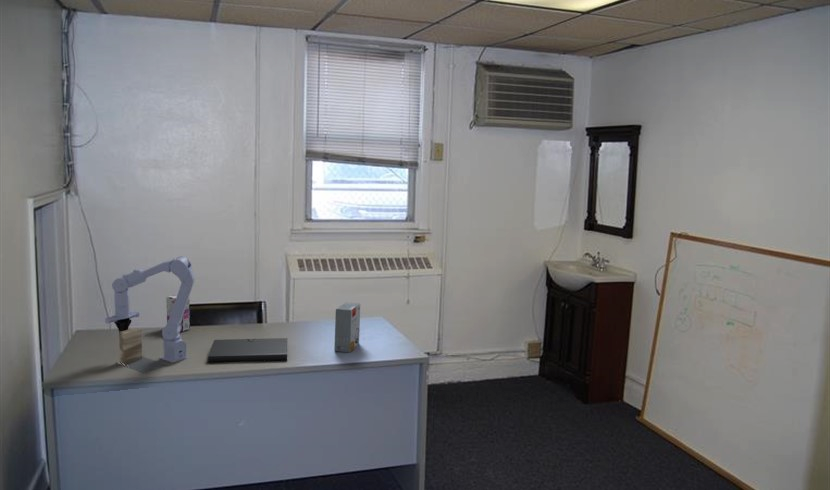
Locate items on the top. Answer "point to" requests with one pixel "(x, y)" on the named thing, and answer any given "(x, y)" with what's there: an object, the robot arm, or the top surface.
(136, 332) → the maple block
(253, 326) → the top surface
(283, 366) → the top surface
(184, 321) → the candy bar box
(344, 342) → the hard drive box
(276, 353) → the closed laptop
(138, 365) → the mat
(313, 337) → the top surface
